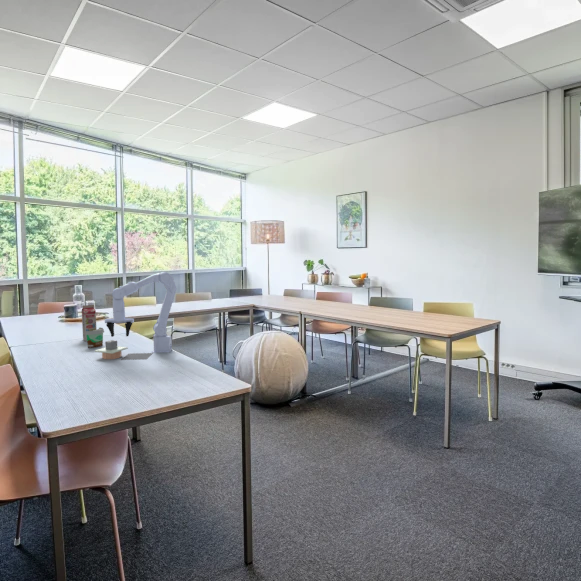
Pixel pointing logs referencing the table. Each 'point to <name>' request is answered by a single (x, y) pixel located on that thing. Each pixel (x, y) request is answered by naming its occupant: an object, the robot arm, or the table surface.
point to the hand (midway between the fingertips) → (120, 336)
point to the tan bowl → (111, 355)
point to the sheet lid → (111, 347)
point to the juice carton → (88, 319)
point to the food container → (95, 338)
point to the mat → (137, 356)
